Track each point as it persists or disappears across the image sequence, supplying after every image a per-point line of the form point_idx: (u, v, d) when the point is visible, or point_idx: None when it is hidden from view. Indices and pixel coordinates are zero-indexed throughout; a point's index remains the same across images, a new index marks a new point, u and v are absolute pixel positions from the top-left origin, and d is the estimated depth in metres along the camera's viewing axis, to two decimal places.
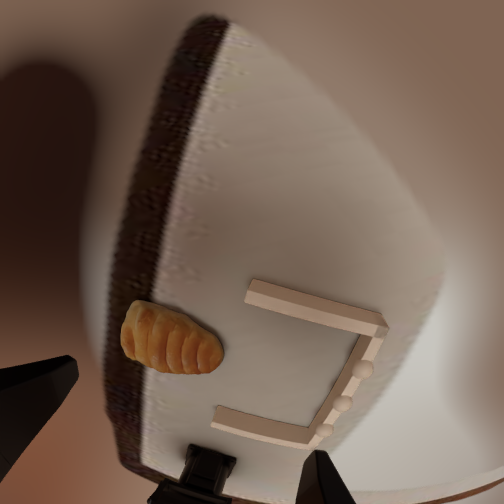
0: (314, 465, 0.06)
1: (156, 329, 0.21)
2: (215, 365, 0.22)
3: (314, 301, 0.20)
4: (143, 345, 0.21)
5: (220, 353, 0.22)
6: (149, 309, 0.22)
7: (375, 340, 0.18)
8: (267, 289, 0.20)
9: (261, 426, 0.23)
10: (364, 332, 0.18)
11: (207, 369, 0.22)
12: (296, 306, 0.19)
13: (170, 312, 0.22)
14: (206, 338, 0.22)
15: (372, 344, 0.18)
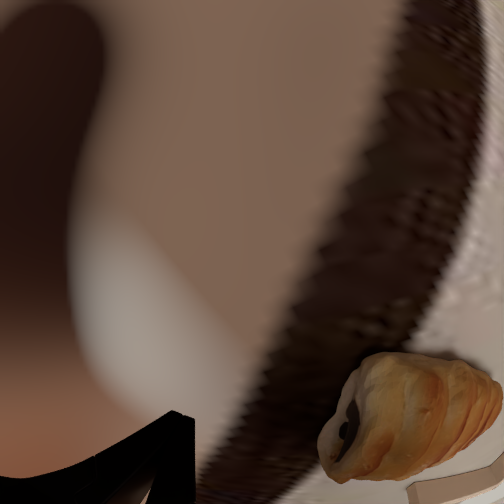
0: (175, 429, 0.07)
1: (458, 412, 0.06)
2: None
3: None
4: (414, 456, 0.06)
5: (501, 407, 0.07)
6: (431, 372, 0.07)
7: None
8: None
9: (461, 486, 0.09)
10: None
11: (474, 439, 0.07)
12: None
13: (462, 364, 0.07)
14: (498, 391, 0.07)
15: None
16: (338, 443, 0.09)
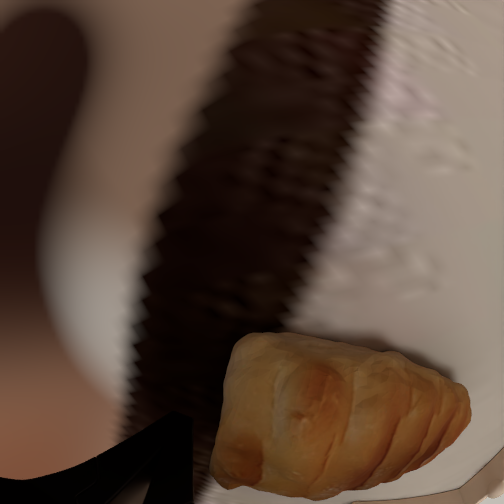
0: (173, 428, 0.07)
1: (367, 426, 0.05)
2: None
3: None
4: (305, 476, 0.05)
5: (470, 417, 0.06)
6: (321, 363, 0.06)
7: None
8: None
9: None
10: None
11: (432, 458, 0.06)
12: None
13: (385, 357, 0.06)
14: (460, 397, 0.06)
15: None
16: None
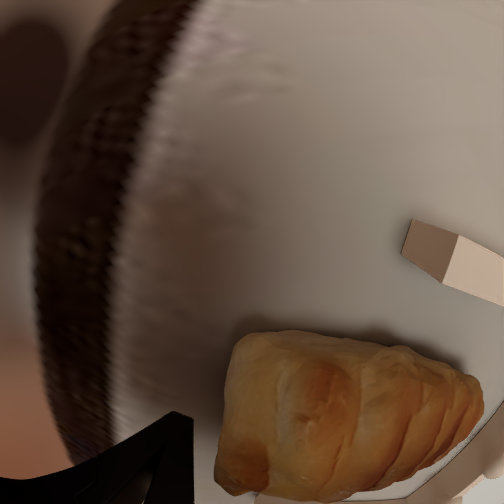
0: (174, 428, 0.07)
1: (377, 425, 0.04)
2: None
3: None
4: (314, 480, 0.05)
5: (483, 410, 0.05)
6: (325, 362, 0.06)
7: None
8: None
9: None
10: None
11: (446, 453, 0.06)
12: None
13: (393, 352, 0.06)
14: (473, 389, 0.05)
15: None
16: None
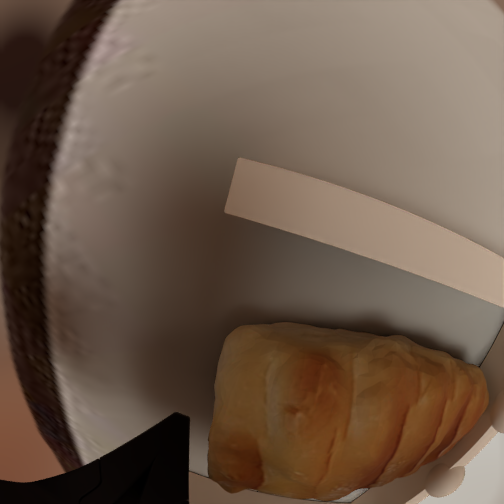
0: (170, 427, 0.07)
1: (371, 417, 0.04)
2: None
3: None
4: (309, 476, 0.05)
5: (488, 400, 0.05)
6: (315, 352, 0.06)
7: None
8: None
9: None
10: None
11: (451, 447, 0.05)
12: (427, 230, 0.04)
13: (387, 341, 0.06)
14: (475, 379, 0.05)
15: None
16: None
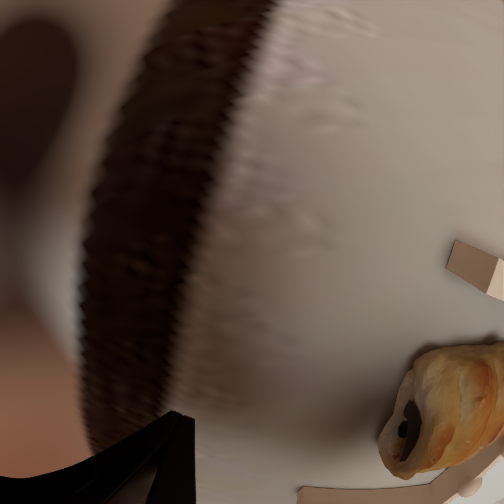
0: (175, 429, 0.07)
1: None
2: None
3: None
4: (473, 441, 0.05)
5: None
6: (480, 361, 0.06)
7: None
8: None
9: None
10: None
11: None
12: None
13: None
14: None
15: None
16: (399, 442, 0.08)
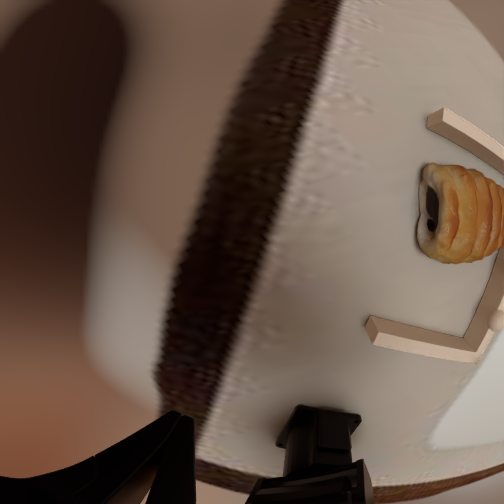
0: (175, 429, 0.07)
1: (481, 181, 0.12)
2: None
3: None
4: (474, 209, 0.12)
5: None
6: (456, 166, 0.13)
7: None
8: None
9: (428, 336, 0.16)
10: None
11: None
12: (483, 134, 0.11)
13: (472, 169, 0.13)
14: None
15: None
16: (431, 233, 0.15)
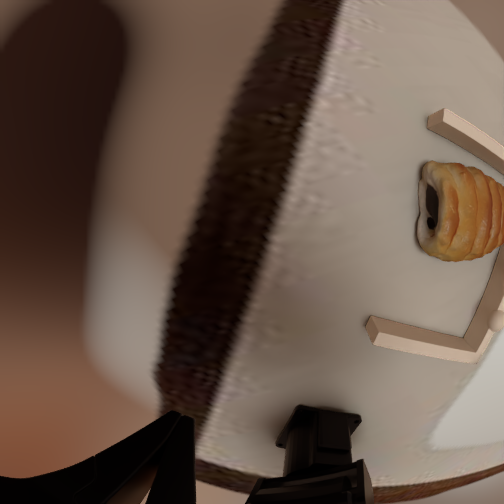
0: (175, 429, 0.07)
1: (480, 178, 0.12)
2: None
3: None
4: (474, 206, 0.12)
5: None
6: (456, 163, 0.13)
7: None
8: None
9: (428, 336, 0.16)
10: None
11: None
12: (483, 134, 0.11)
13: None
14: None
15: None
16: (431, 231, 0.15)
